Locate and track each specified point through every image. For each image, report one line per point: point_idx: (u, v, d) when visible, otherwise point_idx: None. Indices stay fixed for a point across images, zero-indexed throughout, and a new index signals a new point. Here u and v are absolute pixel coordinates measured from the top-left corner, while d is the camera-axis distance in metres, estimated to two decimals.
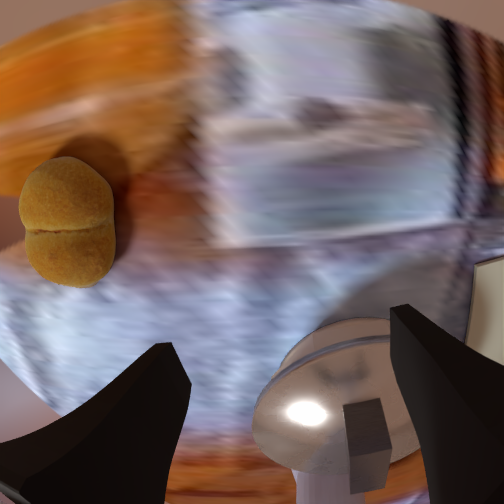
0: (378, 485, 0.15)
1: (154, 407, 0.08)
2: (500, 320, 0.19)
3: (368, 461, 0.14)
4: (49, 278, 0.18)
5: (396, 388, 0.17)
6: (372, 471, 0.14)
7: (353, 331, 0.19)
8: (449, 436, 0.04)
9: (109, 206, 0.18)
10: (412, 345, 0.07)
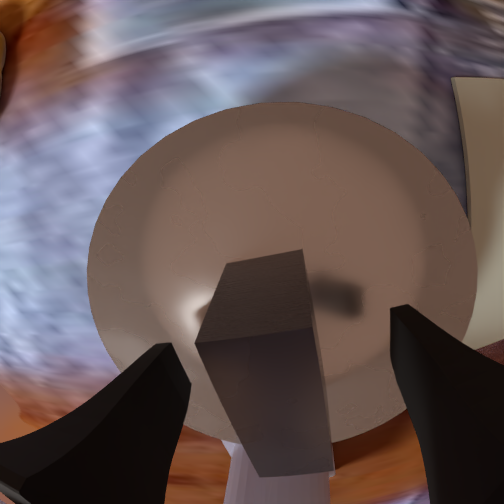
0: (316, 461, 0.08)
1: (155, 407, 0.08)
2: None
3: (255, 370, 0.06)
4: None
5: (334, 225, 0.09)
6: (282, 413, 0.07)
7: None
8: (449, 436, 0.04)
9: None
10: (412, 345, 0.07)
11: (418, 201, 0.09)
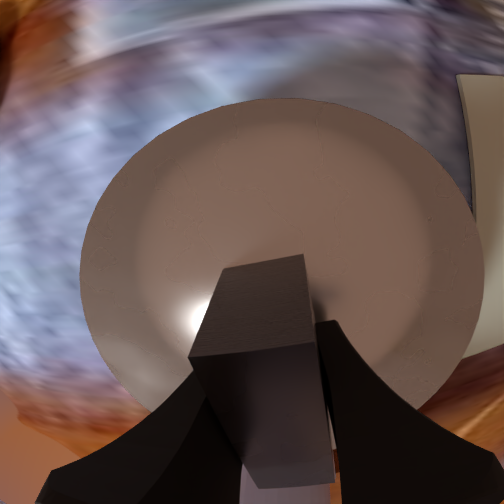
0: (316, 473, 0.07)
1: None
2: None
3: (253, 385, 0.06)
4: None
5: (337, 228, 0.09)
6: (281, 428, 0.06)
7: None
8: None
9: None
10: (323, 364, 0.07)
11: (425, 203, 0.08)
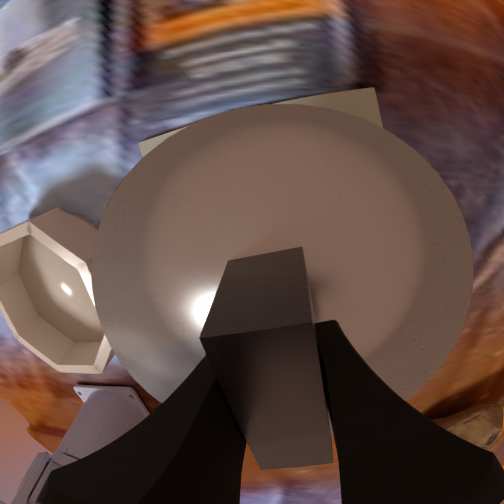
0: (316, 453, 0.08)
1: None
2: None
3: (257, 363, 0.07)
4: None
5: (333, 222, 0.09)
6: (283, 405, 0.07)
7: (32, 218, 0.19)
8: None
9: None
10: (323, 364, 0.07)
11: (415, 200, 0.09)
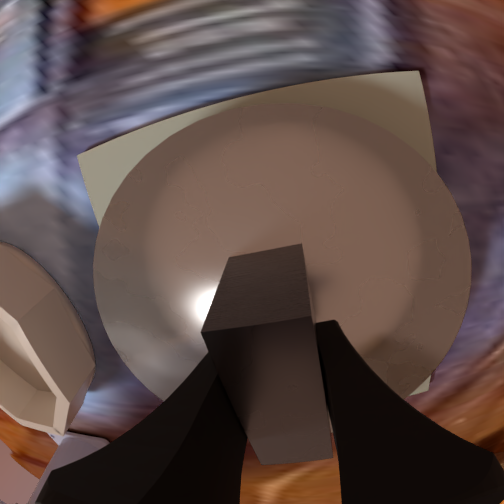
0: (315, 448, 0.08)
1: (230, 405, 0.08)
2: None
3: (257, 357, 0.07)
4: None
5: (332, 220, 0.10)
6: (283, 400, 0.07)
7: None
8: None
9: None
10: (323, 364, 0.07)
11: (413, 197, 0.09)
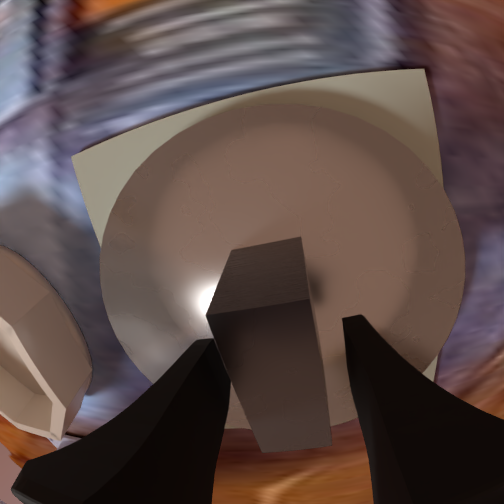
0: (315, 434, 0.09)
1: (201, 407, 0.08)
2: None
3: (259, 340, 0.07)
4: None
5: (329, 214, 0.10)
6: (283, 383, 0.08)
7: None
8: (379, 456, 0.05)
9: None
10: (356, 358, 0.07)
11: (407, 193, 0.10)
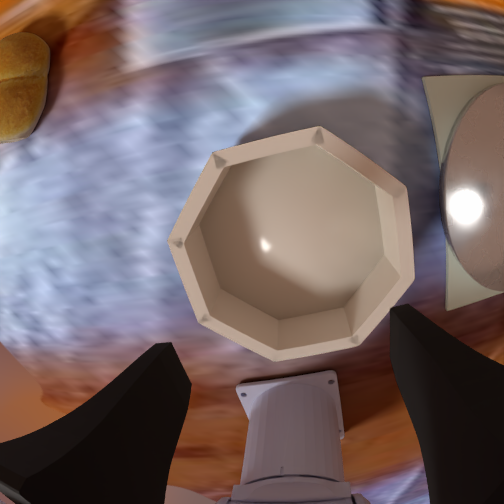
0: None
1: (154, 407, 0.08)
2: None
3: None
4: None
5: None
6: None
7: None
8: (449, 436, 0.04)
9: (44, 58, 0.15)
10: (412, 345, 0.07)
11: None
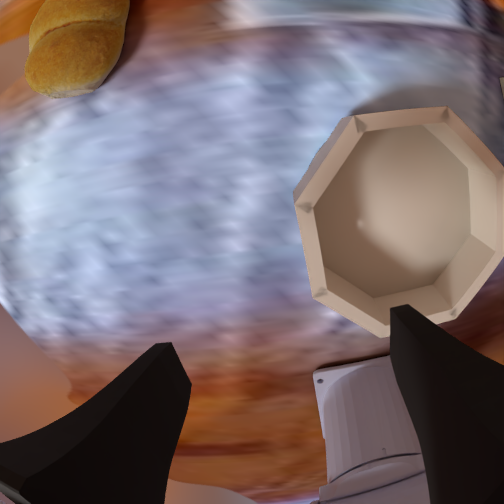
0: None
1: (154, 407, 0.08)
2: None
3: None
4: (42, 77, 0.14)
5: None
6: None
7: None
8: (449, 436, 0.04)
9: (125, 5, 0.14)
10: (412, 345, 0.07)
11: None
